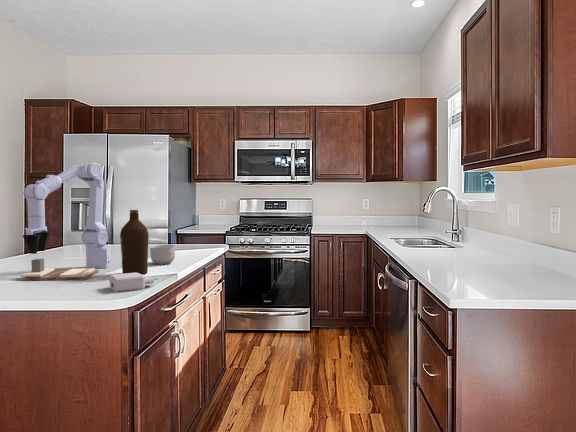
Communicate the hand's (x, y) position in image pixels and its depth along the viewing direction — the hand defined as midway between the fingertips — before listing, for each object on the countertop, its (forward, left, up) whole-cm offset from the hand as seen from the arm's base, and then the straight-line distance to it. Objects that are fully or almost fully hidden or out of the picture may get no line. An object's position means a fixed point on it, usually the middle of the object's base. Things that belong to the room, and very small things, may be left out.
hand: (37, 252), depth 185 cm
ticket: (-14, 0, -8) cm, 17 cm away
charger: (-41, +24, -10) cm, 48 cm away
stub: (0, 0, -8) cm, 8 cm away
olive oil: (-35, -4, -10) cm, 36 cm away
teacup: (-42, -31, -10) cm, 53 cm away
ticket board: (-9, 0, -9) cm, 13 cm away
